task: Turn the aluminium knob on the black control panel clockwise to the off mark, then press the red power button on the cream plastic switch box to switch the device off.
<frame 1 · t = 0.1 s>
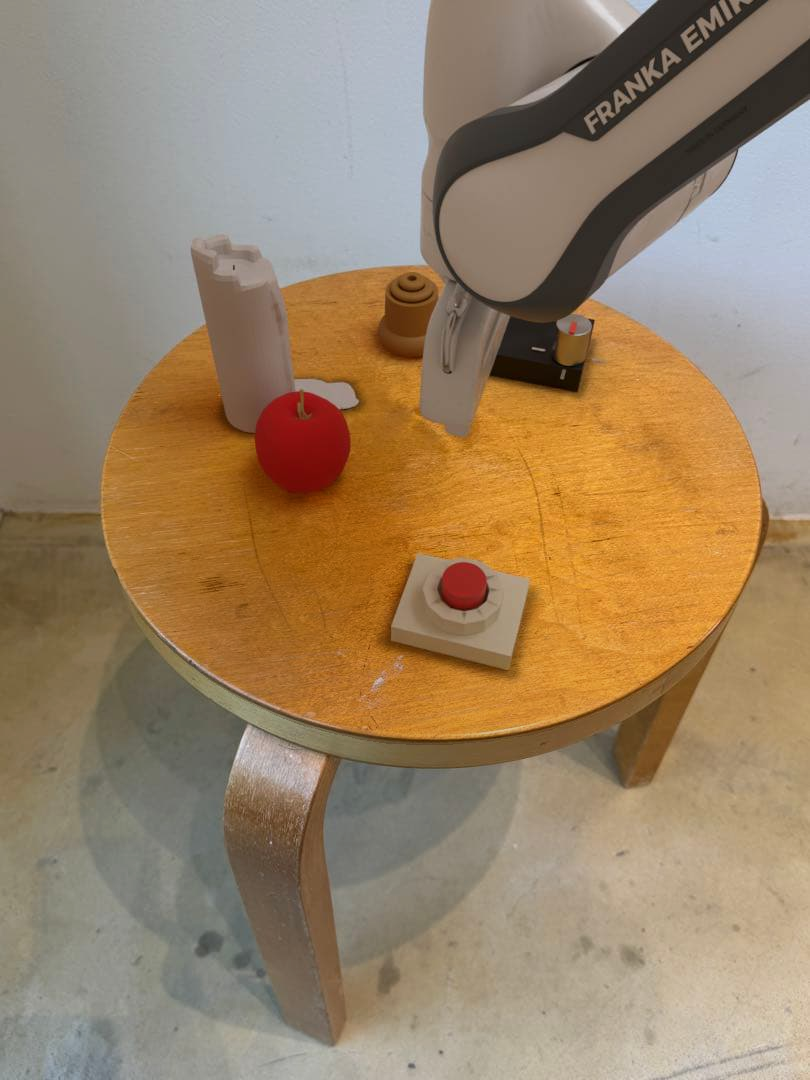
hand: (473, 389, 66), 16 cm above the table, tool pointing down, fingers open, 8 cm apart
candle: (292, 405, 89), on the table
ornamental finial: (411, 341, 96), on the table
power button: (463, 585, 69), point 4 cm above the table, slide at 0.1 cm
switch box: (460, 616, 72), on the table
fruit: (306, 475, 83), on the table
dial panel: (539, 357, 94), on the table
dial knob: (571, 338, 88), point 5 cm above the table, hinge at 90.0°
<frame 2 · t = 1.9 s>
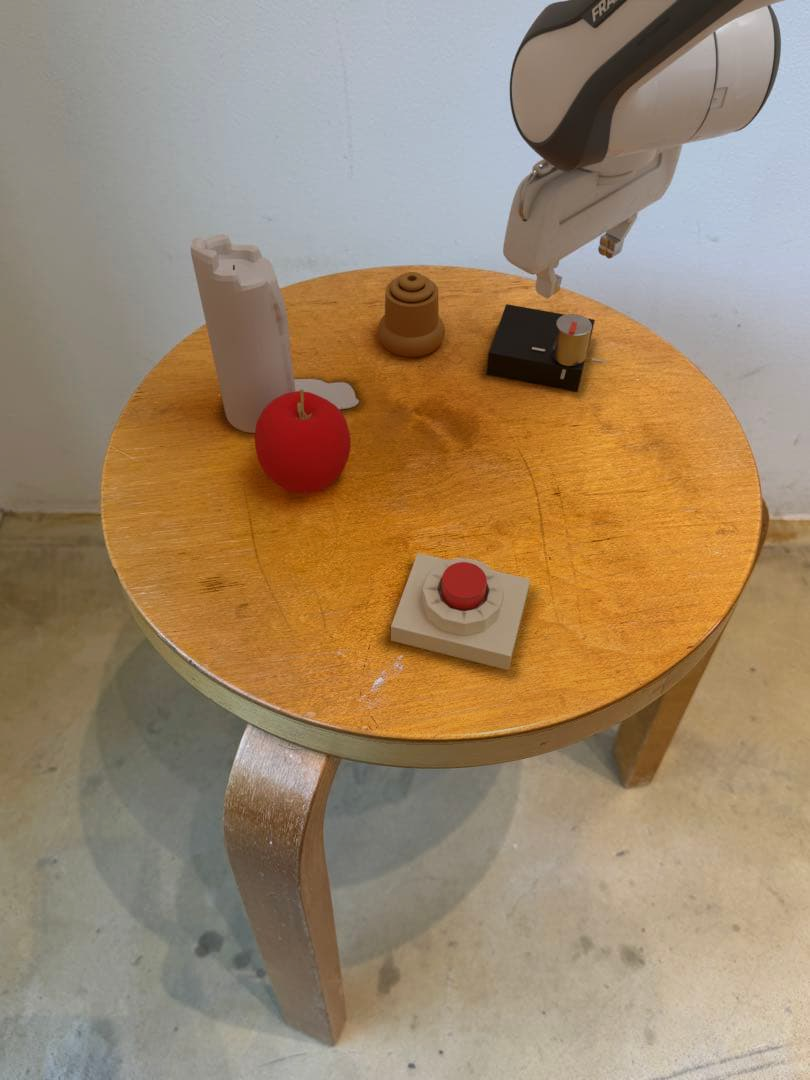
hand: (578, 272, 81), 13 cm above the table, tool pointing down, fingers open, 8 cm apart
nothing on the table moved.
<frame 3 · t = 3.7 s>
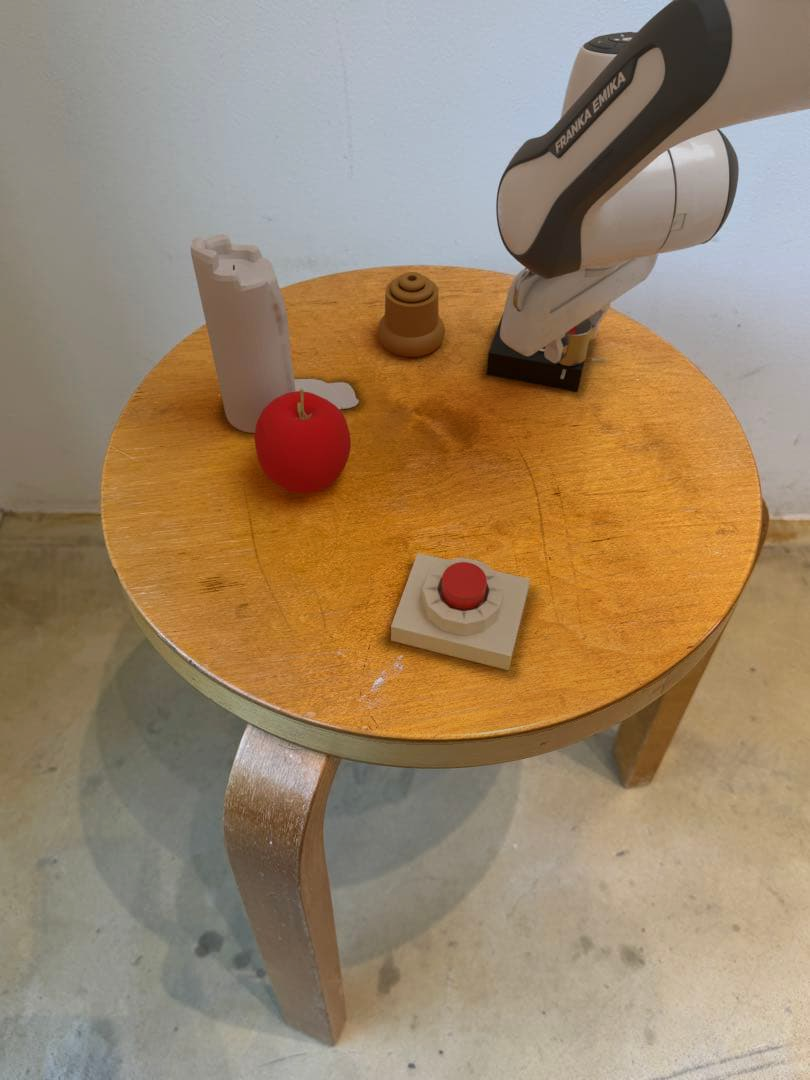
hand: (570, 347, 89), 4 cm above the table, tool pointing down, fingers closed on dial knob, 3 cm apart
dial knob: (571, 338, 88), point 5 cm above the table, hinge at 90.1°, touching gripper
everything else where it was.
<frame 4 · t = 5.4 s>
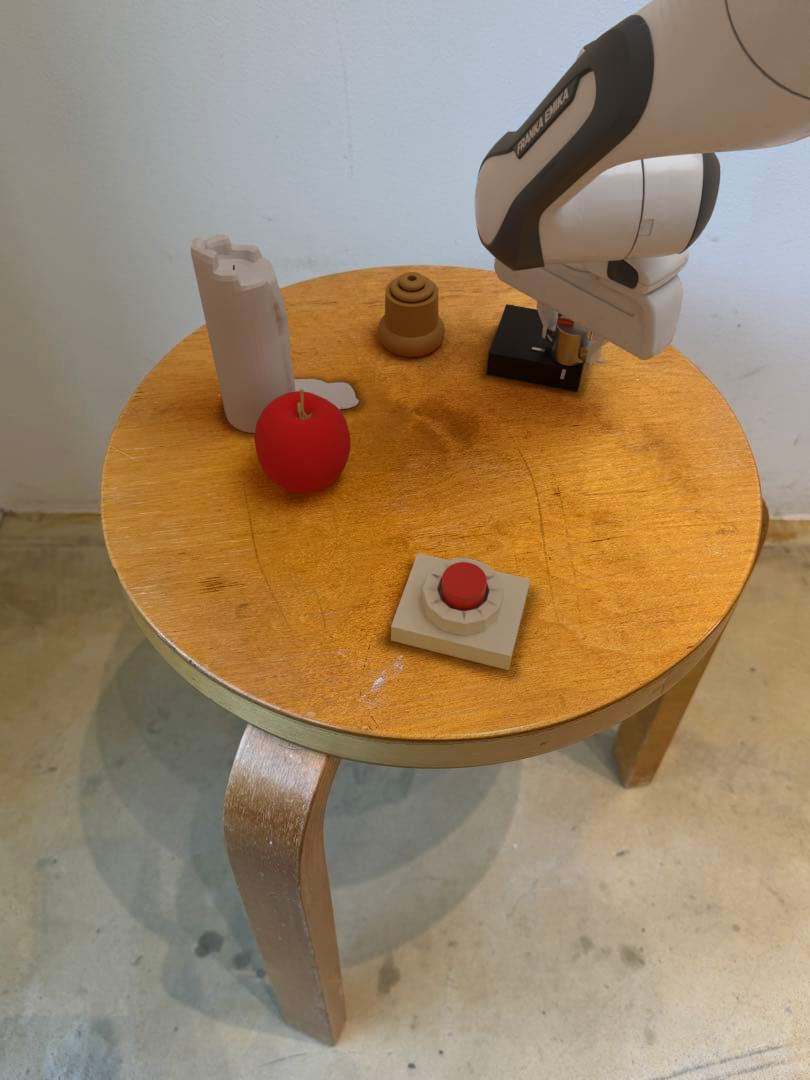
hand: (569, 349, 89), 4 cm above the table, tool pointing down, fingers closed on dial knob, 3 cm apart
dial knob: (571, 338, 88), point 5 cm above the table, hinge at 0.1°, touching gripper
everything else where it was.
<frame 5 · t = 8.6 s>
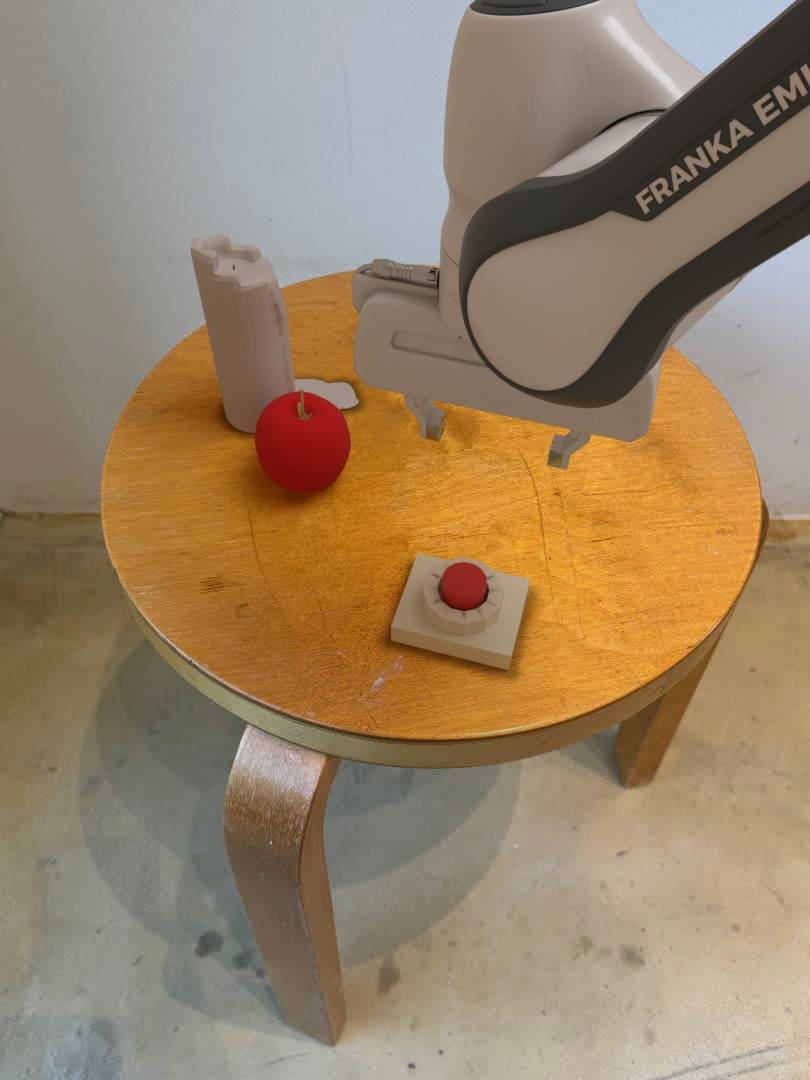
hand: (494, 447, 62), 17 cm above the table, tool pointing down, fingers open, 8 cm apart
dial knob: (571, 338, 88), point 5 cm above the table, hinge at -0.2°
everything else where it was.
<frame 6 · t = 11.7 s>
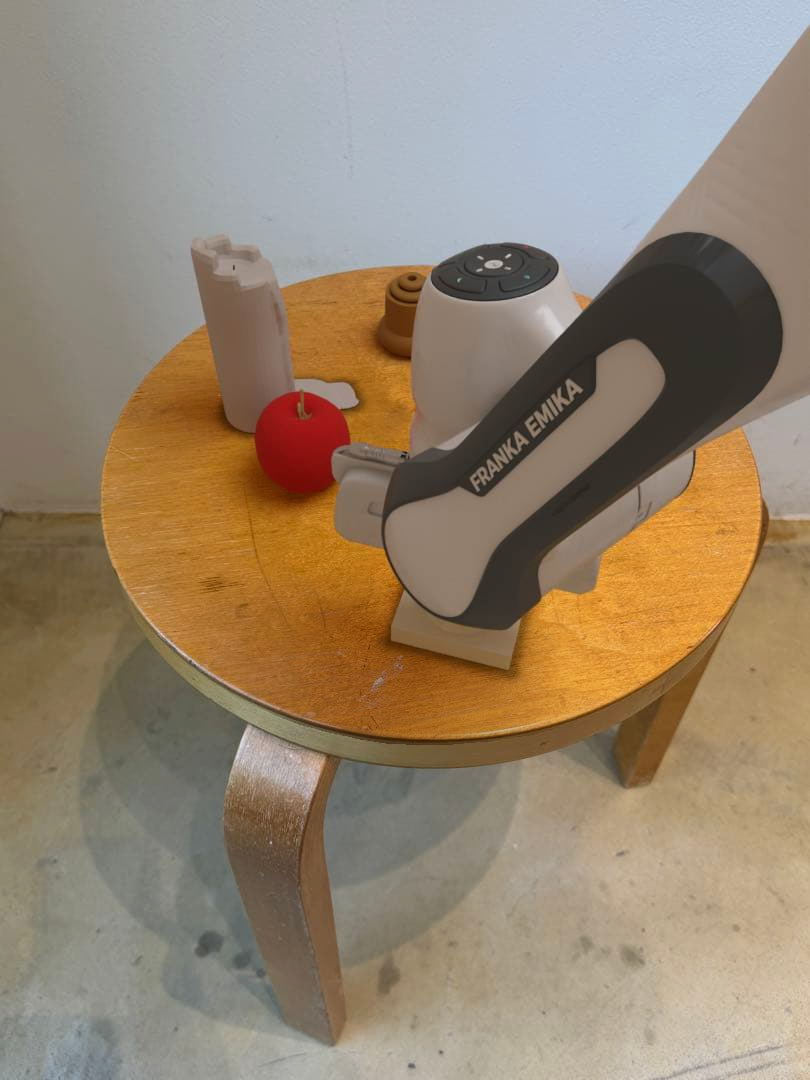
hand: (461, 587, 69), 4 cm above the table, tool pointing down, fingers closed, pressing on power button
power button: (463, 592, 70), point 4 cm above the table, slide at -0.8 cm, touching gripper
everything else where it was.
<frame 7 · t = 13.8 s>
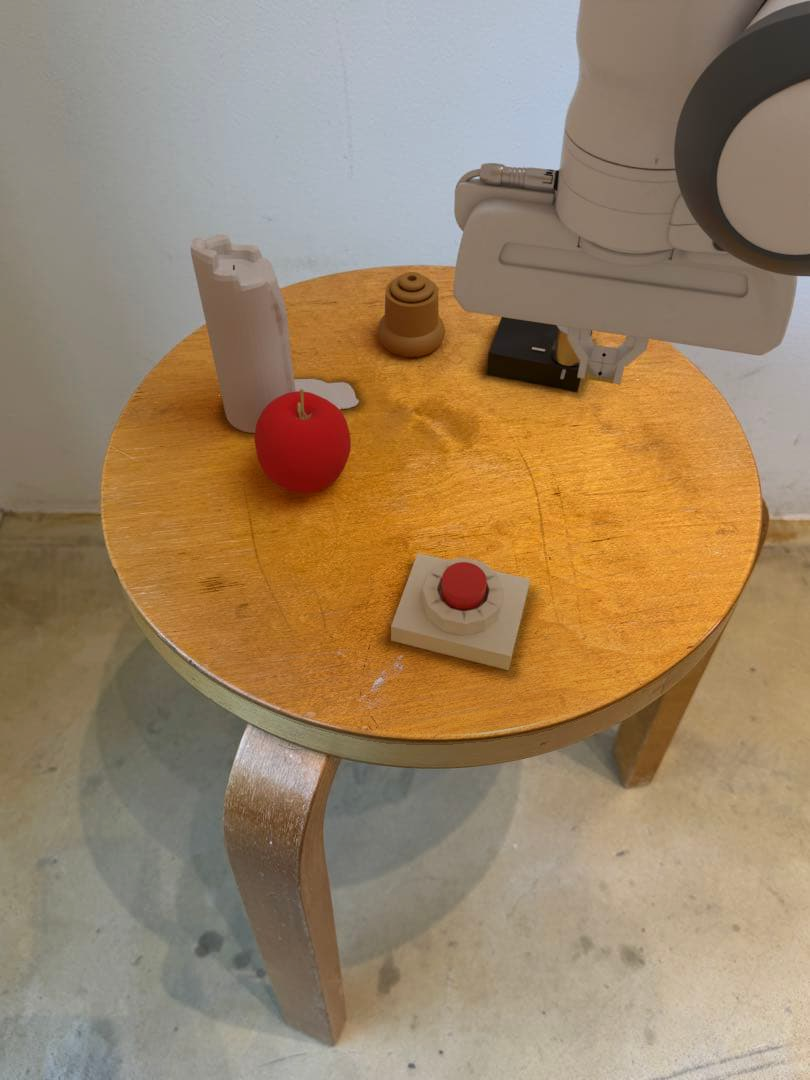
hand: (599, 375, 58), 23 cm above the table, tool pointing down, fingers closed
power button: (463, 585, 69), point 4 cm above the table, slide at 0.1 cm
everything else where it was.
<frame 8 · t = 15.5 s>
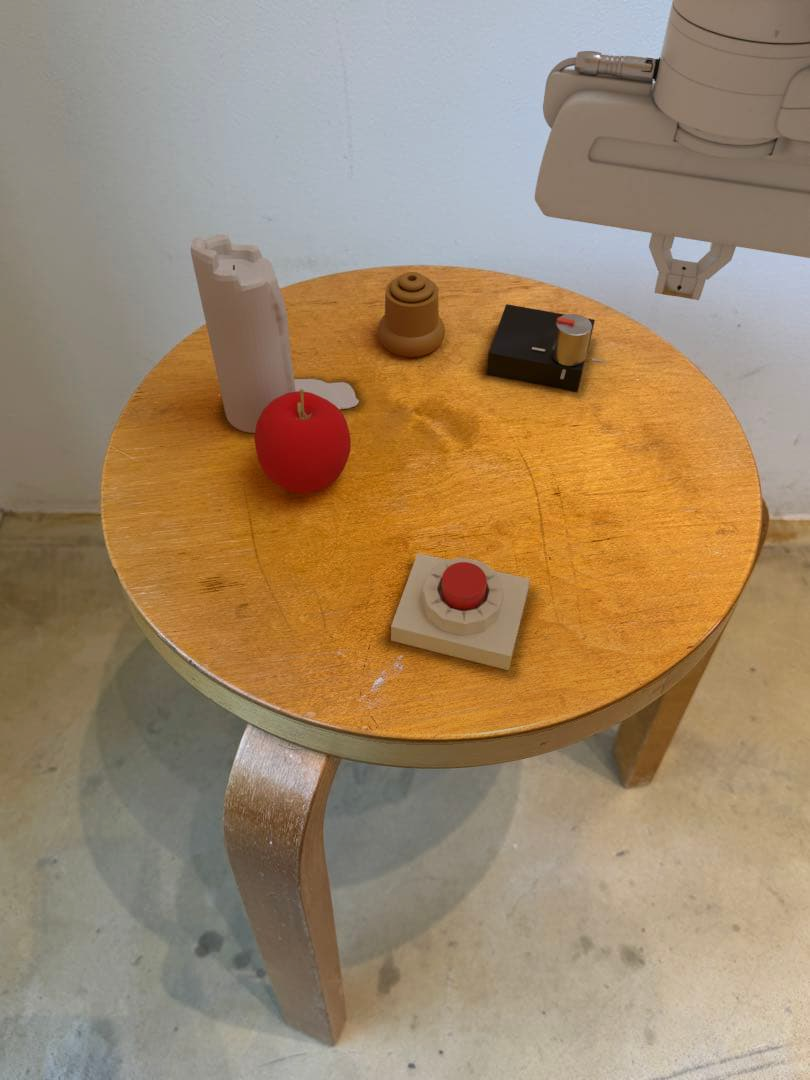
hand: (677, 292, 56), 27 cm above the table, tool pointing down, fingers closed
nothing on the table moved.
at the end: dial knob at +0° (first picture: +90°); power button pushed in 1.1 cm at the most during the clip, back to where it started at the end; power button slide at 0.1 cm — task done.
